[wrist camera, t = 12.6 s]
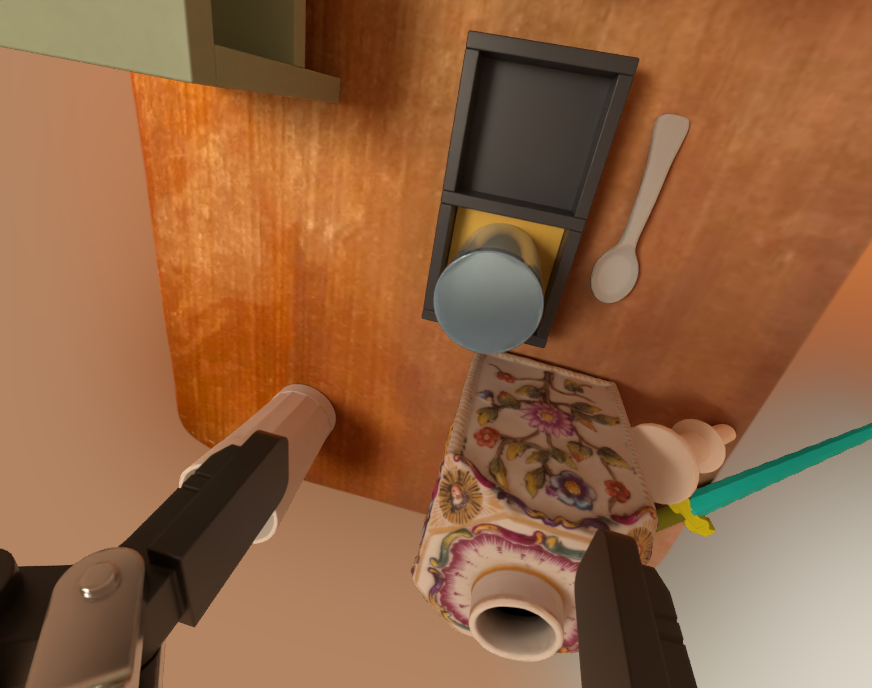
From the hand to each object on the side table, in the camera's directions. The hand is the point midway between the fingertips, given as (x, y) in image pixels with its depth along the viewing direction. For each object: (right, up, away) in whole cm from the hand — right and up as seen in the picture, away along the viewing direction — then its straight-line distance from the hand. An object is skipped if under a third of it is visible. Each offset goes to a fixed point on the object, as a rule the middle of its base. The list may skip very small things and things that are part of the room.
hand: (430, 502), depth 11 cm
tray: (+6, +14, +18) cm, 24 cm away
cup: (-13, -3, +31) cm, 34 cm away
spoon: (+13, +13, +18) cm, 26 cm away
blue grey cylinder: (+5, +10, +20) cm, 22 cm away
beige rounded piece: (+14, -4, +17) cm, 22 cm away
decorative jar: (+8, -2, +26) cm, 27 cm away
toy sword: (+14, -15, +29) cm, 36 cm away
